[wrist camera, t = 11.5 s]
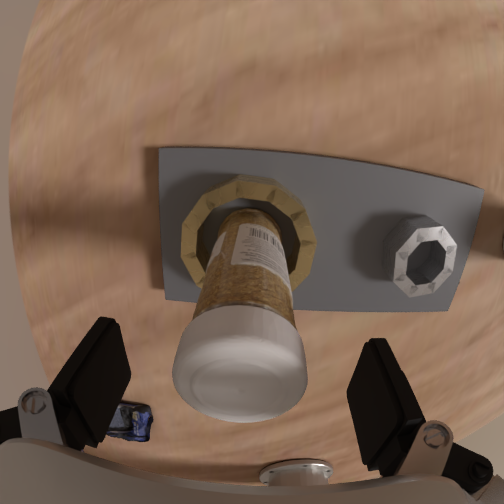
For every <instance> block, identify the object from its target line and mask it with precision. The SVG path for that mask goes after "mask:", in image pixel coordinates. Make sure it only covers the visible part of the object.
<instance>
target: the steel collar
mask: <svg viewBox="0 0 504 504" xmlns="http://www.w3.org/2000/svg"><path fill="white" fill-rule="evenodd" d="M425 241H431V244H430V253H429V256H428V257H427V258H426V260H425V261H424V262H423V263H422V264H421V265H420V266H419V267H418V268H415V269H408V270H406V269H407V260H408V256H409V255H410V254H411V253H412V252H413V251H414V249H415V248H416V247H417V246H418V245H419V244H420V243H421V242H425ZM456 248H457V244H456V243H455V242H454V240H453V239H452V237H451V236H450V235H449V233H448V232H447V231H446V229H445V228H444V227H443V226H442V225H441V224H439V223H438V222H436V221H435V220H433V219H432V218H430V217H429V216H415V217H403V218H402V219H401V220H400V221H399V222H398V223H397V225H396V226H395V227H394V228H393V229H392V230H391V231H390V232H389V234H388V235H387V236H386V237H385V238H384V239H383V253H382V268H383V269H384V270H385V272H386V273H387V274H388V276H389V277H390V278H391V280H392V281H393V282H394V283H395V284H396V285H397V286H398V287H399V288H400V289H401V290H402V291H403V292H404V293H405V294H406V295H407V296H408V297H409V298H410V297H415V296H420V295H426V294H431V293H434V292H435V291H436V290H437V289H438V288H439V287H440V286H441V284H442V283H443V282H444V281H445V280H446V279H447V278H448V277H449V276H450V274H451V273H452V272H453V267H454V261H455V255H456Z"/></svg>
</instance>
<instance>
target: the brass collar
mask: <svg viewBox="0 0 504 504" xmlns="http://www.w3.org/2000/svg"><path fill="white" fill-rule="evenodd" d="M237 198H247V199H254V200H262V201H269V202H270V203H272V204H273V205H274V206H275V207H277V208H278V209H279V210H281V211H282V212H283V213H284V214H286V215H287V216H288V217H290V218H291V219H292V222H293V224H294V227H295V229H296V236H295V241H294V246H293V251H292V253H291V255H290V256H289V257H288V258H287V259H286V264H287V269H288V275H289V280H290V286H291V292H293V291H294V290H295V289H296V288H297V287H298V286H299V284H300V283H301V282H302V281H303V280H304V279H305V278H306V277H307V276H308V275H309V274H310V270H311V266H312V262H313V258H314V253H315V249H316V245H317V240H316V238H315V235H314V232H313V229H312V226H311V223H310V220H309V218H308V215H307V212H306V209H305V207H304V205H303V203H302V202H301V200H300V199H299V198H298V197H297V196H295V195H294V194H293V193H292V192H290V191H289V190H288V189H287V188H285V187H284V186H283V185H282V184H280V183H279V182H278V181H276V180H275V179H272V178H265V177H258V176H251V175H243V174H239V175H237V176H234V177H232V178H230V179H227V180H225V181H222V182H220V183H218V184H215V185H213V186H211V187H209V188H208V189H207V190H206V191H205V193H204V194H203V195H202V196H201V198H200V199H199V201H198V202H197V203H196V205H195V206H194V208H193V209H192V211H191V212H190V213H189V215H188V216H187V218H186V219H185V221H184V222H183V223H182V237H181V258H182V260H183V262H184V264H185V266H186V268H187V269H188V271H189V273H190V275H191V277H192V279H193V280H194V282H195V284H196V285H197V286H198V287H200V288H201V289H202V286H203V283H204V279H205V276H206V270H207V266H208V263H209V260H210V257H211V256H210V254H209V252H208V250H207V248H206V246H205V244H204V242H203V231H204V220H205V219H206V217H207V216H208V215H209V213H210V212H211V211H212V209H213V208H215V207H218V206H220V205H223V204H225V203H228V202H230V201H232V200H235V199H237Z"/></svg>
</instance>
